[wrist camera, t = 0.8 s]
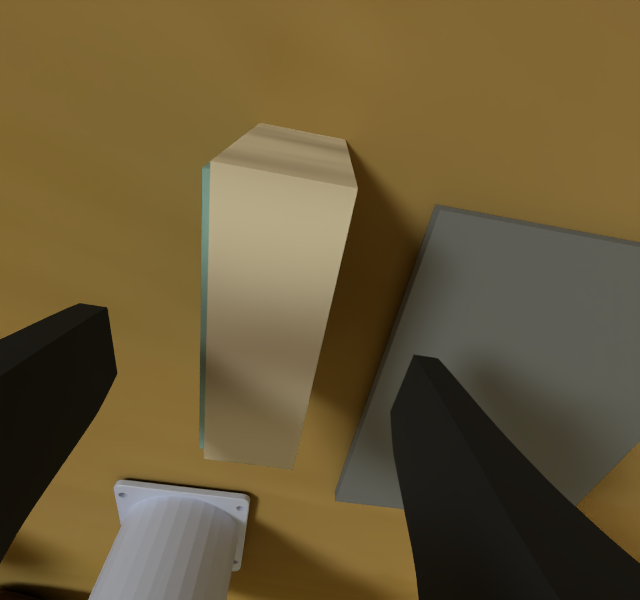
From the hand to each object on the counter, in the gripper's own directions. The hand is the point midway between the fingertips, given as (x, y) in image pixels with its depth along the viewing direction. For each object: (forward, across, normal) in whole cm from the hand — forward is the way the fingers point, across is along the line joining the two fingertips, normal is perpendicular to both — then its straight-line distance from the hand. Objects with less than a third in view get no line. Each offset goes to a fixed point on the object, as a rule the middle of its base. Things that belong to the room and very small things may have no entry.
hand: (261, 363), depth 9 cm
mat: (+6, -12, +6) cm, 15 cm away
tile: (+6, 0, 0) cm, 6 cm away
